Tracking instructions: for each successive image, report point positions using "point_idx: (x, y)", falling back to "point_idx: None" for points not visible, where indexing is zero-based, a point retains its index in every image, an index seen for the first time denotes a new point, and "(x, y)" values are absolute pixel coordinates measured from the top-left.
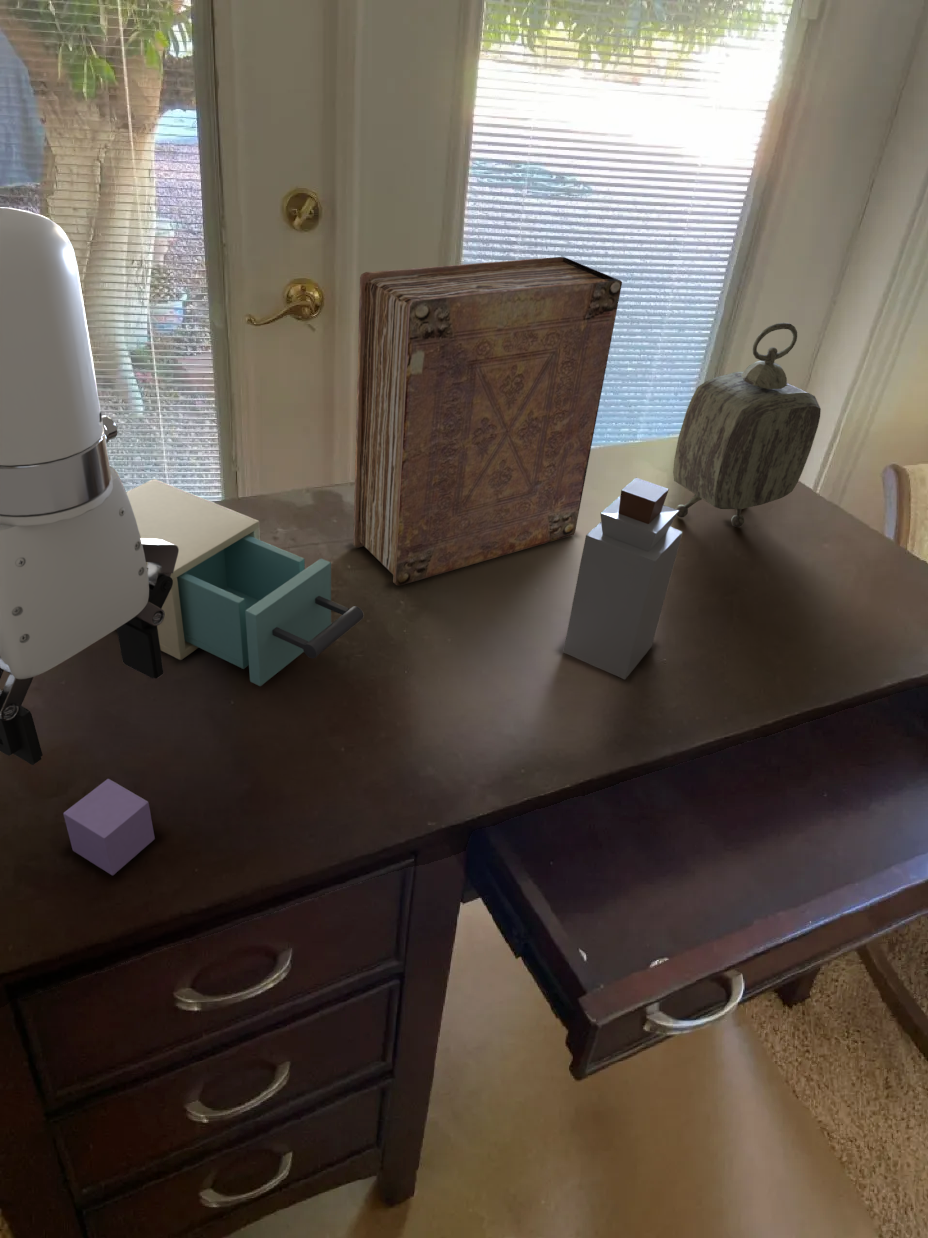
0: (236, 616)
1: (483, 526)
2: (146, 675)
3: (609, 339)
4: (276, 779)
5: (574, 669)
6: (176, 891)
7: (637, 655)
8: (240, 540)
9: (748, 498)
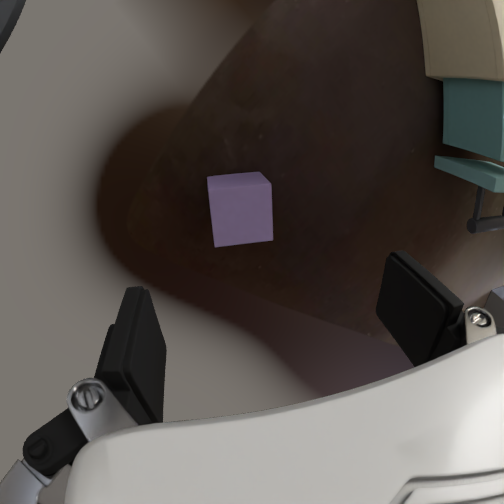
0: (487, 152)
1: None
2: (378, 299)
3: None
4: (362, 243)
5: (482, 302)
6: (235, 271)
7: None
8: None
9: None
